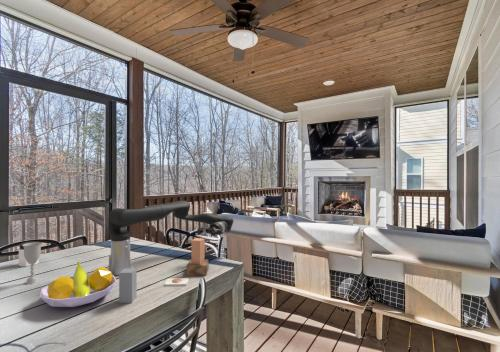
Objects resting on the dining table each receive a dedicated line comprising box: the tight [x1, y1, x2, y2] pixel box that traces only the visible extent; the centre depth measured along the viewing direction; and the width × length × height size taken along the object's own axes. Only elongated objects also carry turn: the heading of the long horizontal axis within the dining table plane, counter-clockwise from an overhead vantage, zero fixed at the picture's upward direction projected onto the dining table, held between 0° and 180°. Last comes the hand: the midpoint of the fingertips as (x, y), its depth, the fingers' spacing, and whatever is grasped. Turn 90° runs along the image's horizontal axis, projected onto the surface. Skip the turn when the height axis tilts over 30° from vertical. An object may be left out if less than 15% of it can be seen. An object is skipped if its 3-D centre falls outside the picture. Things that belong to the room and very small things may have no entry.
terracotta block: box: [190, 237, 206, 264], centre depth 142 cm, size 5×5×12 cm
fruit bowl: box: [39, 261, 118, 308], centre depth 112 cm, size 28×27×11 cm
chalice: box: [23, 241, 43, 285], centre depth 128 cm, size 7×7×18 cm
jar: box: [18, 240, 40, 268], centre depth 154 cm, size 9×8×12 cm
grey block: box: [118, 267, 138, 304], centre depth 110 cm, size 5×5×12 cm
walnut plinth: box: [186, 258, 209, 277], centre depth 142 cm, size 10×10×5 cm
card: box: [163, 277, 190, 287], centre depth 128 cm, size 10×7×1 cm
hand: (204, 233), depth 151 cm, fingers open, 8 cm apart
